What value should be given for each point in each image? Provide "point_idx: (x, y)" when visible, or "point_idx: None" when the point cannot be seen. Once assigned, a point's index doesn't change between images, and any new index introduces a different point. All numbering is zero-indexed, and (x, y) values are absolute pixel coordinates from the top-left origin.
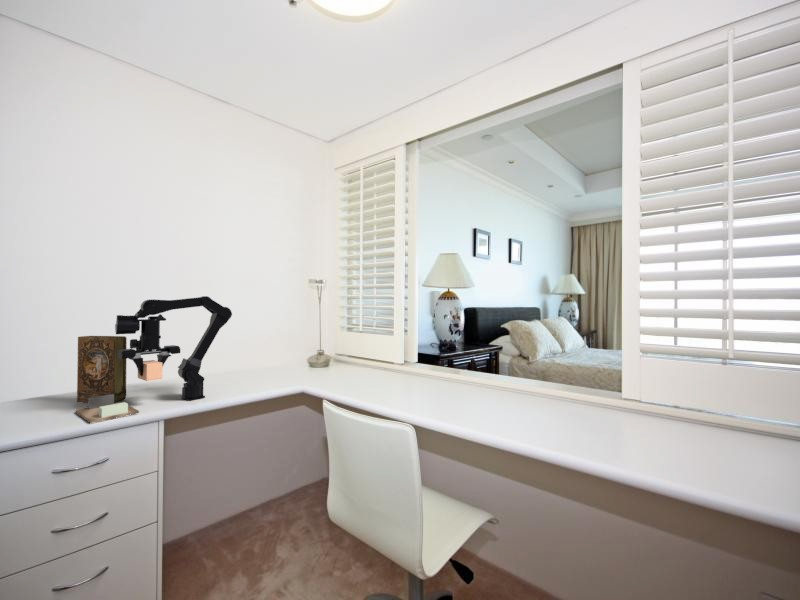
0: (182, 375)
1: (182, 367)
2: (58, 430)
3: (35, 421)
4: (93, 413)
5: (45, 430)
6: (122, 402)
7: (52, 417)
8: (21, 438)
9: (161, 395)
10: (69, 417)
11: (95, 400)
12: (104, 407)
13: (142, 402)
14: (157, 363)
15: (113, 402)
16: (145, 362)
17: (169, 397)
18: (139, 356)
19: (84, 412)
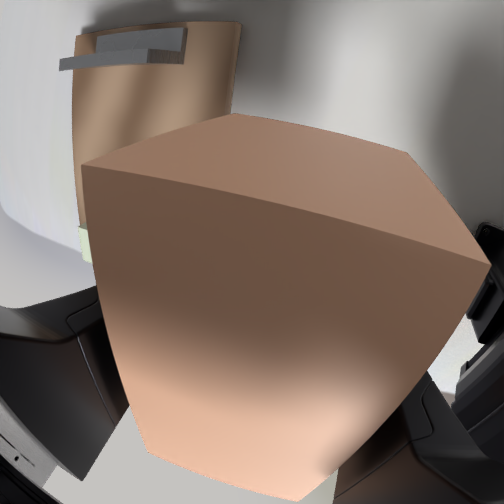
0: (453, 402)
1: (483, 441)
2: (43, 220)
3: (19, 66)
4: (95, 155)
5: (27, 191)
6: (232, 42)
7: (43, 49)
8: (9, 210)
9: (484, 36)
10: (63, 91)
11: (90, 67)
12: (89, 255)
13: (334, 80)
14: (248, 487)
15: (173, 63)
16: (169, 383)
17: (479, 129)
18: (38, 469)
19: (81, 106)
